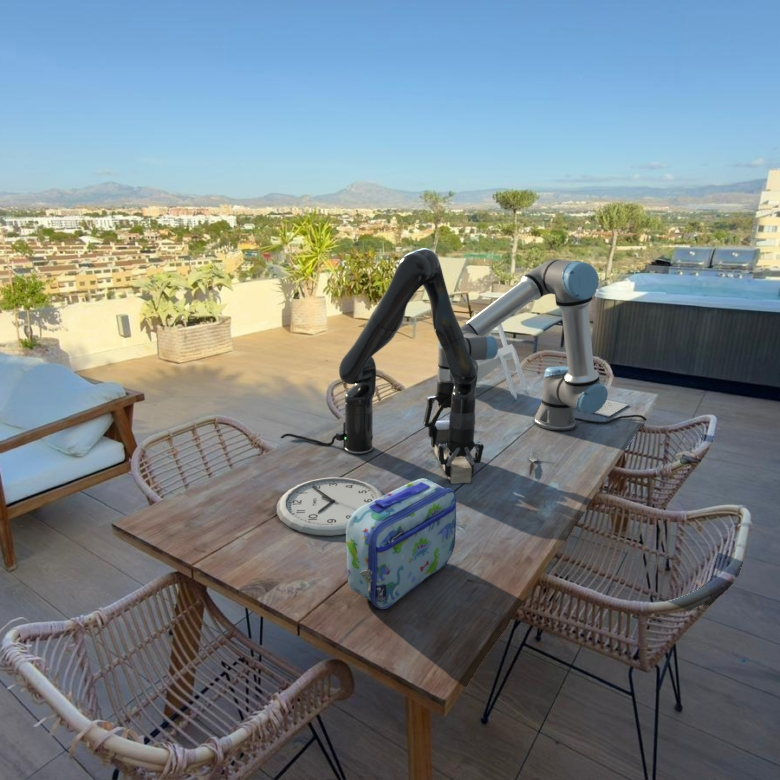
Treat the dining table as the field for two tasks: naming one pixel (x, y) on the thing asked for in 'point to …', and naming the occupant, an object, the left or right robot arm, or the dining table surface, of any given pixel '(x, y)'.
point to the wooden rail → (457, 468)
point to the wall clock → (324, 504)
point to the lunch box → (400, 540)
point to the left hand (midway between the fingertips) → (458, 475)
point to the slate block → (441, 432)
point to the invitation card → (610, 408)
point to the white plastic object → (503, 364)
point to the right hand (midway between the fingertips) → (445, 445)
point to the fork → (533, 461)
